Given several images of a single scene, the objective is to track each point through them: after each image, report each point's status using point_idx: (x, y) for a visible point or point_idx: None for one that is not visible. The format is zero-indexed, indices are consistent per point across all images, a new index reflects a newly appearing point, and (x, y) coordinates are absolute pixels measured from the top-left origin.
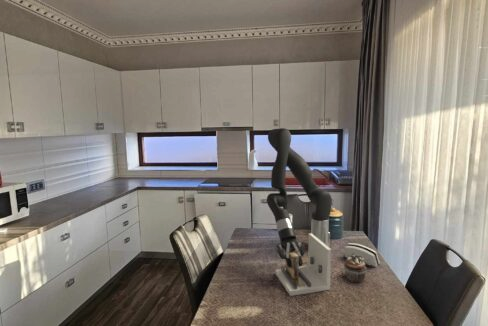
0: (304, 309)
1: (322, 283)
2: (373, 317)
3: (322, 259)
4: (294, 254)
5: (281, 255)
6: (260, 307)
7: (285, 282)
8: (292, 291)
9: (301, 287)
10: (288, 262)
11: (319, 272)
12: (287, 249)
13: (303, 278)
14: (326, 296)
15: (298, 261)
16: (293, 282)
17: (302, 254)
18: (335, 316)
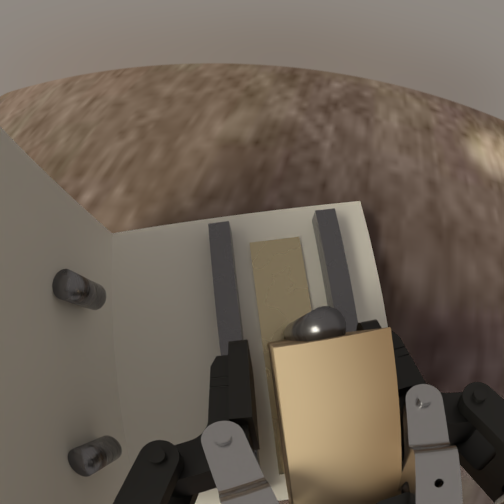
0: (301, 116)
1: (125, 259)
2: (78, 86)
3: (9, 249)
4: (328, 417)
5: (494, 402)
6: (474, 163)
7: (375, 305)
8: (346, 203)
9: (280, 231)
10: (396, 355)
11: (100, 286)
12: (449, 483)
13: (238, 308)
14: (154, 189)
15: (273, 345)
16: (334, 251)
17: (174, 447)
18: (189, 80)
